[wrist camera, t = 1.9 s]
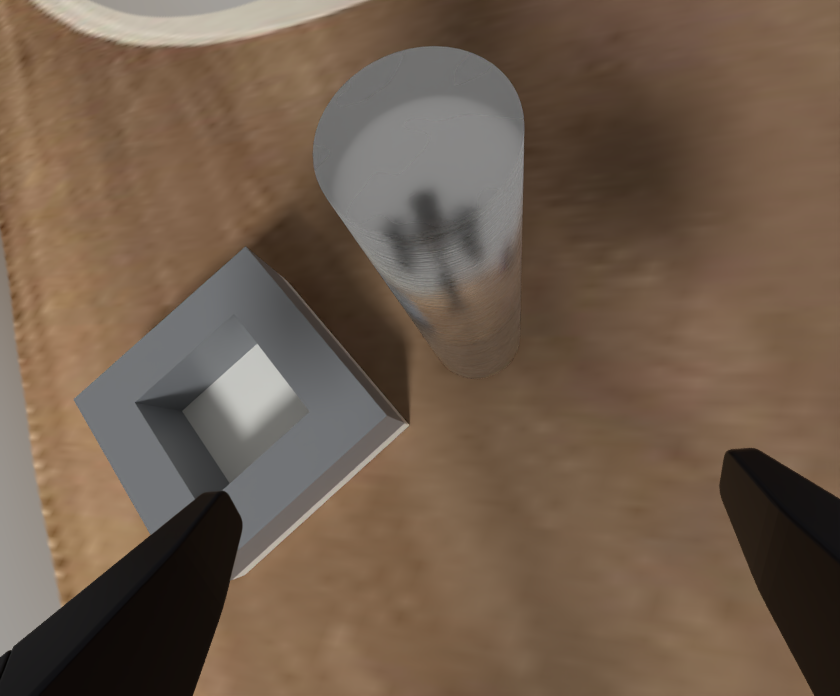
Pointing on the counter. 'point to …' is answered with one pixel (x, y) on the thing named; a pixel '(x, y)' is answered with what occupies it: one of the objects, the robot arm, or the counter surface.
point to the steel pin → (435, 195)
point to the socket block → (239, 409)
